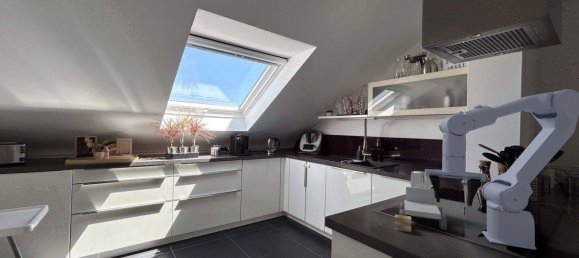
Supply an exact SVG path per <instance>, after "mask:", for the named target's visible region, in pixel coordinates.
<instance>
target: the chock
mask: <svg viewBox="0 0 579 258" xmlns="http://www.w3.org/2000/svg"><path fill="white" fill-rule="evenodd" d="M395 230H396V231H400V232H406V233H412V215H409V216H408V215H405V216H403V215H400V214H394V231H395Z"/></svg>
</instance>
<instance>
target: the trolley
mask: <svg viewBox="0 0 579 258" xmlns="http://www.w3.org/2000/svg"><path fill="white" fill-rule="evenodd" d="M435 196H436V195H435V191H434V188H431V189H426V188H415V187H411V186H405V199H404V200H403V201H404V202H399V215H403V216H408V215H409V216H414V217H422V218H429V219H435V220H436V221H438V224H439V230H442V231H447V229H448V222H447V221H448V220H447V215H446V214H444V213H443V208H442V207H440V206H438V205H437V203H435Z"/></svg>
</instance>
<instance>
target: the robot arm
mask: <svg viewBox="0 0 579 258" xmlns="http://www.w3.org/2000/svg"><path fill="white" fill-rule="evenodd" d="M520 112H524V113H531V115H532V116H533V117H534V119H535V120H536V121H537V122H538V123H539V125H540V126H541V128H542V129H541V131H539V132H538V134H537V135H536V136H535V137H534V139H533V140H532V141H531V142H530V144H528V146H527V147H526V148H525V149H524V150H523V152H522V153H521V154H520V155H519V156H518V158H517V159H516V160H515V161H514V162H513V163H512V165H510V167H509V169H507V170H506V172H504V173H502V174H499V175H496V176H495V177H494V178H493V179H492V180H490V181H489V182H486V180H487V179H486V178H487V176H486V175H487V174H485V173H481V172H470V171H467V134H468V133H469V132H471V131H475V130H478V129H481V128H484V127H487V126H492V125H494V124H495V123H496V122H497V120H498V119H499V118H502V117H503V118H504V117H507V116H510V115H513V114H517V113H520ZM578 119H579V91H577V90H576V89H575V90H574V89H572V88H571V89H570V88H565V89H561V90H556V91H550V92H544V93H538V94H534V95H528V96H524V97H519V98H517V99H514V100H511V101H509V102H505V103H502V104H500V105H496V106H493V107H491V106H490V105H489V106H488V105H482V104H479V105H475V106H474V107H473V109H469V110H466V111H464V112H463V111H458V112H456V115H450V116H446V117H444V118H443V119H442V120H441V121H440V124H439V125H438V128H439V130H440V132H441V133H442V153H441V154H442V155H441V157H442V159H441V160H442V163H441V164H442V167H441V169H431V168H430V169H429V168H428V169H427V168H425V169H424V172H425V176H429V179H430V181H431V187H432V189H434V191H435V195H434V196H435V201H436V203H441V202H440V201H441V198H440V197H441V195H440V188H441V187H440V186H441V185H440V184H441V180H440V178H445V179H446V178H447V179H457V180H459V179H460V180H466V185H467V195H466V196H467V197H466V204H467V206H468V207H472V206H473V202H474V199H475V196H476V194H477V193H478V191H479V189H480V188H481V187H482V188H481V194H482V197H483V198H484V200H486V231H485V230H482V231H481V233H482V234H483V235H484V237H485V238H486V240H488V241H489V243H492V244H498V245H504V246H508V247H509V246H511V247H516V248H523V249H528V250H533V251H534V250H537V247H536V245H535V244H536V243H535V242H536V240H535V239H536V238H535V236H536V235H535V234H536V233H535V232H536V230H535V220H534V216H533V214H532V213H531V212H530V211H528V210H527V211H526V210H524V209H526V207H527V206H528V203H529V198H530V197H531V195H532V194H533V189H532V187H531V185H530V184H531V183H533V181H534V179H535V178H536V177H537V176H538V175H539V174H540V173H541V171H542V170H543V169H544V168H545V167H546V166H547V164H548V163H549V162H550V161H551V160H552V159H553V158H554V156H555V155H556V154H557V153H558V152H559V150H560V149H561V148H562V147H564V145H565V144H566V142H567V141H568V140H569V139H570V138H571V137H572V136H573V134H574V133H575V131H576V127H577V123H578ZM482 182H486V183H484V185H483V183H482ZM482 185H483V186H482Z"/></svg>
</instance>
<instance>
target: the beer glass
mask: <svg viewBox="0 0 579 258" xmlns="http://www.w3.org/2000/svg"><path fill="white" fill-rule="evenodd" d="M410 187H415V188H426V189H432V183H431V181H430V179H429V176H425V171H424V170H423V171H421V170H412V171H411V173H410Z"/></svg>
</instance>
